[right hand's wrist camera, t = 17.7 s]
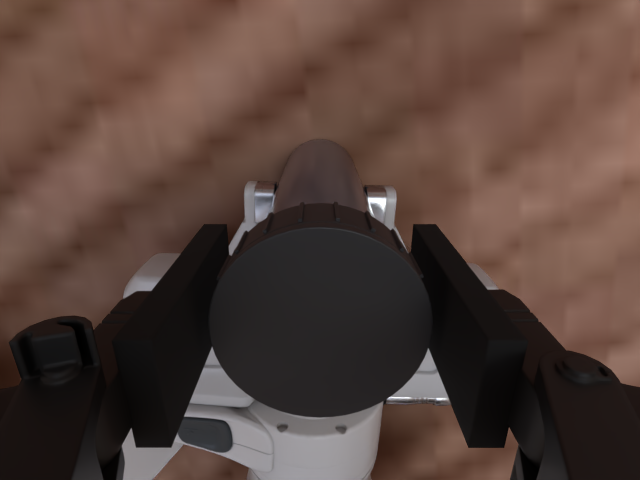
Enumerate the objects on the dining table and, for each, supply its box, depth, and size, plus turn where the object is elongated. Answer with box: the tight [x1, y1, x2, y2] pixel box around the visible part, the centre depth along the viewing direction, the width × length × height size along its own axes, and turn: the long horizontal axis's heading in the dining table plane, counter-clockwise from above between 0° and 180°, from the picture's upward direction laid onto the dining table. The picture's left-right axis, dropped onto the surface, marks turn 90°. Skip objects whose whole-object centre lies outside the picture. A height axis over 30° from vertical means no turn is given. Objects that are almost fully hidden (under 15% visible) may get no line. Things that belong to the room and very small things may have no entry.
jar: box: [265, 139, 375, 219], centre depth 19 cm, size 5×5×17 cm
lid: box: [208, 202, 433, 418], centre depth 11 cm, size 6×6×2 cm
